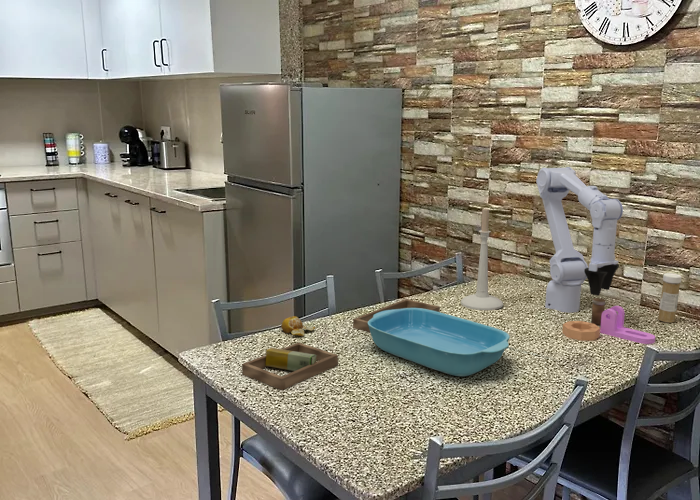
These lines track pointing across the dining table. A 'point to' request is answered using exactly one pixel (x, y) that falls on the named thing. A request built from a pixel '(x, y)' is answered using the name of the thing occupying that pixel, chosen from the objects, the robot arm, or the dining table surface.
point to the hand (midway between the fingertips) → (600, 291)
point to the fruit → (294, 326)
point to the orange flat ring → (581, 330)
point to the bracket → (622, 327)
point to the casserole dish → (438, 340)
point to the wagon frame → (363, 320)
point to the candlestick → (483, 275)
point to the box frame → (282, 382)
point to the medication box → (288, 359)
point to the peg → (597, 310)
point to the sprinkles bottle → (669, 297)
